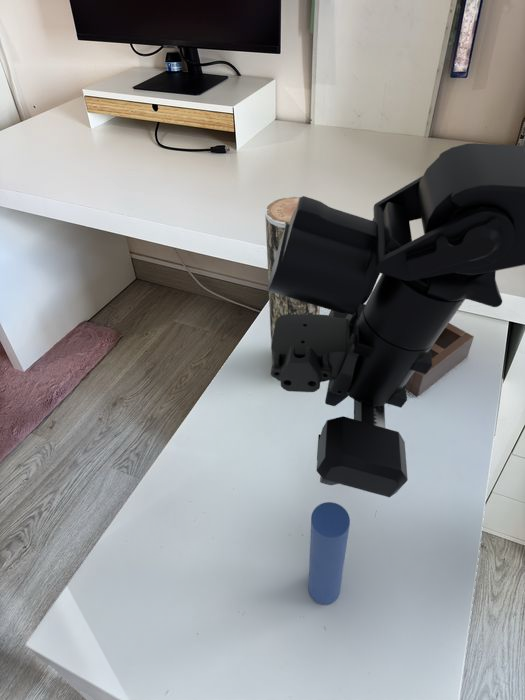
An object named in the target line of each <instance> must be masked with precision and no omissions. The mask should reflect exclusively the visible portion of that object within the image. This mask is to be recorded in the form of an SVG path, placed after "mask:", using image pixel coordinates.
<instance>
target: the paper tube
mask: <svg viewBox="0 0 525 700" xmlns="http://www.w3.org/2000/svg"><path fill="white" fill-rule="evenodd" d="M300 197H301V196H287V197H283V198H282V197H281V198H279V199H276V200H274V201H272V202H270V203H269V204H268V205H267V206H266V208H265V237H266V238H265V239H266V258H267V281H268V283H269V279H270V275H271V271H272V268H273V264H274V260H275V257H276V254H277V250H278V247H279V244H280V240H281V237H282V234H283V231H284V228H285V225H286V223H287V224H289V222H290V220H291V217H292V215H293V212H294V211H295V210H296V207H297V204H298V201H299V198H300ZM268 283H267V284H268ZM268 300H269V301H268V303H269V326H270V328H269V329H270V344H272V338H273V333H274V328H275V323H276V320H277V318H278V317H280V316H282V315H285V314H311V315H321V314H320V313H321V307H319V306H316V305H313V304H309V303H306V302H302V301H299V300H296V299H292V298H289V297H286V296H282V295H279V294H276V293H272V292H269V291H268ZM271 363H273V359H272V358H271Z"/></svg>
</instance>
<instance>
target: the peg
mask: <svg viewBox="0 0 525 700" xmlns="http://www.w3.org/2000/svg"><path fill="white" fill-rule="evenodd" d="M350 526H351V518H350V515H349V513H348V511H347V509H345V508H344V506H342V505H341V504H338V503H336V502H334V501H333V502H332V501H327V502H322V503H320V504H318V505H317V506H316V507H315V508H314V509H313V510H312V513H311V516H310V534H309V535H310V537H309V538H310V539H309V559H308V561H309V562H308V564H309V565H308V584H307V590H308V594H309V596H310V597H311V599H312V600H313V601H314V602H316V603H317V604H319V605H325V606H327V605H330V604H333V603H334V602H336V601H337V600H338V598H339V596H340V593H341V586H342V585H341V584H342V579H343V572H344V565H345V560H346V559H345V558H346V552H347V544H348V539H349V532H350Z"/></svg>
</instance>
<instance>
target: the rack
mask: <svg viewBox="0 0 525 700" xmlns="http://www.w3.org/2000/svg"><path fill="white" fill-rule="evenodd" d="M474 337H475V336H474V335H472V334H470V333H469V332H466V331H465V330H463V329H461V328H459V327H458V326H455V325H454V324H452V323H450V322H449V323H448V324H447V326H446V327H445V329H444V330H443V332H442V333H441V334H440V336H439V337H438V339H437V340H436V341H435V343H434V344H433V346H432V347H431V349H430V352H431V359H432V367H431V368H430V369H429V371H428V372H427V374H423V373H420V372H416V371H414V373H413V374H412V376H411V377H410V378H409V380H408V381H407V383H406V391H409V392H410V393H411V394H413V395H414V396H416V397H419V396H421V395H422V394H423V393H424V392H426V391H427V390H428V389H429V388H431V387H432V386H433V385H434V384H436V383H437V382H438V381H439V380H441V379H442V378H444V376H446V375H447V374H448V373H449V372H451V371H452V370H453V369H455V367H456V366H458V365H459V364H460V363H461V362H463V361H464V360H465V359H467V358H468V356H469V353H470V350H471V348H472V345H473V341H474Z"/></svg>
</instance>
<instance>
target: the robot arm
mask: <svg viewBox="0 0 525 700" xmlns="http://www.w3.org/2000/svg"><path fill="white" fill-rule="evenodd" d="M299 197H300V198H299V201H298V204H297V207H296V210H295V211H294V212H293V215H292V217H291V220H290V222H289V224H287V223H286V225H285V228H284V231H283V234H282V237H281V240H280V244H279V247H278V250H277V254H276V257H275V260H274V264H273V268H272V271H271V275H270V279H269V283H267V288H266V289H267V292H268V293H269V292H272V293H276V294H279V295H282V296H286V297H289V298H292V299H296V300H299V301H302V302H306V303H309V304H313V305H316V306H319V307H320V308H323V309H327V310H330V311H329V314H320V315H311V314H285V315H282V316H280V317H278V318H277V320H276V323H275V328H274V333H273V338H272V344H271V343H270V344H271V345H270V349H271V350H270V351H271V360H272V359H273V363H272V362H271V363H272V364H271V369H270V375H271V378H272V377H273V379H276V380H277V381H279V382H280V388H282V389H283V390H285V391H286V392H295V393H315V392H317V391H318V390H320V389H321V383H324V382H328V384H327V389H326V394H325V400H324V401H325V402H324V403H325V405H327V406H331V407H336V406H338V405H339V404H340V403H342V402H343V401H345V400H346V398H348V397H349V398H351V399H352V400H353V418H350V417H348V416H344V415H341V416H339V417H334V418H330V419H327V420H326V421H325V423H324V425H323V426H322V428H321V432H320V434H318V437H317V449H316V453H317V454H316V472H317V474H318V475H319V476H320V477H319V483H321V484H324V485H327V486H334V485H341V486H346V487H349V488H352V489H353V488H354V489H357V490H361V491H364V492H368V493H371V494H375V495H379V496H383V497H387V498H391V497H393V496H394V495H395V494H397V493H398V492H399V491H400V490H401V488H402V487H403V486H404V485H405V484H406V483H407V481H408V480H409V478H408V467H407V452H406V442H405V440H404V438H403V437H402V434H401V433H400V431H397V430H393V429H389V428H386V412H385V411H386V410H385V408H386V407H385V405H390V406H394V407H397V408H403V406H404V405H405V404H406V402H407V401H408V397H407V389H406V383H407V381H408V380H409V378H410V377H411V376H412V374H413V373H414V371H416V372H420V373H423V374H427V372H428V371H429V369H430V368H431V367H432V359H431V352H430V349H431V347H432V346H433V344H434V343H435V341H436V340H437V339H438V337H439V336H440V334H441V333H442V332H443V330H444V329H445V327H446V326H447V324H448V323H450V322H451V320H452V319H453V318H454V316H455V314H456V313H457V312H458V311H459V309H460V308H461V306H462V305H463V303H464V302H465V300H468V301H472V302H475V303H479V304H482V305H485V306H489V307H491V308H498V307H500V306H501V305H502V304H503V298H502V295H501V292H500V290H499V286H498V283H497V281H496V273H497V272H498V271H502V270H508V269H512V268H513V269H514V268H519V267H523V266H525V145H516V144H498V143H497V144H495V143H479V142H477V143H475V142H473V143H463V144H461V145H457V146H453V147H450V148H448V149H446V150H444V151H441V153H440V154H439V156H438V157H437V158H435V160H434V161H433V162H432V163H431V164H430V165H429V166H428V167H427V168H426V169H425V171H424V173H423V175H421V176H419V177H418V178H417V179H415V180H413V181H411V182H410V183H408V184H406V185H404V186H403V187H401V188H400V189H398V190H396V191H394V192H392V193H391V194H389V195H387V196H386V197H384V198H383V199H380V200H379V201H377V202H376V203H374V205H373V208H372V209H373V210H372V211H373V218H372V219H368V218H365V217H362V216H359V215H356V214H352V213H349V212H346V211H342V210H339V209H336V208H333V207H330V206H328V205H327V204H326V203H324V202H322V201H321V200H317V199H314V198H312V197H308V196H305V195H302V196H299ZM420 219H421V224H422V230H423V234H422V235H421V236H419V237H417V238H414V239H413V235H412V230H411V223H410V222H412V221H417V220H420Z"/></svg>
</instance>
